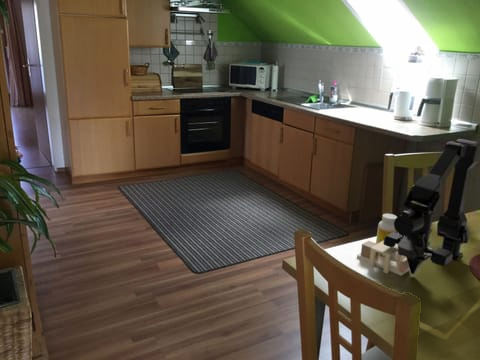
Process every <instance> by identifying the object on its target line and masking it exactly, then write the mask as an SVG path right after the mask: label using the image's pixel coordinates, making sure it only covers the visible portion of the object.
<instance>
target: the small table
mask: <svg viewBox="0 0 480 360" xmlns="http://www.w3.org/2000/svg"><path fill="white" fill-rule="evenodd" d="M383 242H384V240H383V241H382V242H380V243H378V244H376V245H375V246H373V247H371V252H370V260H369V262H368V267H369V268H370V267H371V268H374V267H375V265H374V264H375V256H376V252H379V254H381V256H382V257H384V258H385V263H384V268H383V271H382V272H383V273H385V274H388V273H390V271H389V267H390V260H392V259H391V258H392V256H393V255H395V254H396V261H395V262H397V263H400V261H401V260H403V255H399V254H398V244H396V245H395V246H394V247H392V248H391V247H389V246H386V245H384V244H383Z"/></svg>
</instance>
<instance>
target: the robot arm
mask: <svg viewBox="0 0 480 360" xmlns="http://www.w3.org/2000/svg"><path fill="white" fill-rule="evenodd" d="M479 161H480V142H479V141H474V140H468V139H463V138H458V139H456V140H455V141H451V140H450V141H448V142H446V143H445V145H444V148H443V151H442V152H441V154H440V156H438V159H437V160H436V162H435V163H434V165H433V166H432V167H431V169H430V171H429V172H428V173H427V175H425V176H422V177H421V178H419V179H418V180H417V181H416V182H415V183H414V185H412V186H411V187H410V189H409V192H408V194H407V196H406V198H405V200H404V202H403V205H402V207H403V208H405V210H403V211H402V213H401V214H400V215H399V216H397V218H396V219H395V221H394V227H395V230H396V231H397V232H398V233H395V232H392V233H391V234H389V235H387V236H385V238H384V242H383V244H384V245H386V246H389V247H391V248H392V247H394V246H395V245H396V244H398V254H399V255H402V257H405V258H407V260H408V263H409V268H410V269H409V271H410V274H411V275H415V274H416V272H417V270H419V268H420V266H421V265H422V264H423V262H425V261H427V260H428V259H429V258H430V261H431V262H432V264H434V265H438V266H441V267H445V266H447V265H448V264H449V263H450V262H451V261H457V260H459V259H460V258H461V257H462V256H463V255H464V253H463V252H461V246H462V245H463V244H468V243H469V239H470V237H471V236H470V235H471V232H470V230H469V229H468V227H467V226H468V225H467V224H468V218H467V217H466V214H465V212H464V209H465V204H466V199H467V194H468V189H469V183H470V177H471V172H472V169H473V168H474V166H475V165H477V164H478V163H479ZM452 171H453V175H452V180H451V186H450V192H449V198H448V202H447V208H446V211H444V213H442V214H441V215H439V217H438V219H439V220H438V221H437V224H436V236H437V237H442V241H441V247H437V248H436V249H433V248H432V247H429V246H430V245H431V242H430V241H429V240H430V234H431V233H432V232H433V229H432V223H433V217H434V212H435V211H436V210H437V207H438V206H439V205H440V202H441V201H442V196H443V188H442V187H443V186H444V183H445V182H446V180H447V179H448V177H449V176H450V174H451V172H452Z"/></svg>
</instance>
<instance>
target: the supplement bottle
mask: <svg viewBox="0 0 480 360" xmlns="http://www.w3.org/2000/svg"><path fill="white" fill-rule="evenodd" d="M397 217H398V216H397V215H396V214H393V213H383V214H382V218H381V219H382V220H380V221H379V223H378V224H377V225H378V226H377V232H376V240H375V241H376V242H375V243H376V244H378V243H380V242H382V241H383V240H384V238H385V236H387V235H389V234H391V233H392V232H395V233H398V232H397V231H396V230H395V227H394V221H395V219H396V218H397ZM398 234H399V233H398Z"/></svg>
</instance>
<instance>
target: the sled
mask: <svg viewBox="0 0 480 360" xmlns="http://www.w3.org/2000/svg"><path fill="white" fill-rule="evenodd" d="M375 245H376V242H374V241H371V240H367V241H365V242H363V243H362V244H361V250H360V253H358V254H357V255H356V258H358V259H359V260H362V261H364V262H367V263H369V260H370V252H371V247H373V246H375ZM384 263H385V258H384V257H382V255H380V253H379V252H376V256H375V264H374V266H377V267H379V268H381V269H384ZM409 271H410V268H409V263H408V260H407V258H406V257H404V258H402V260H401V261H400V263H397V262H396V261H394V260H392V259H391V260H390V267H389V272H391V273H393V274H396V275H399V276H401V277H402V276H403V275H405V274H406V273H408V272H409Z"/></svg>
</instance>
